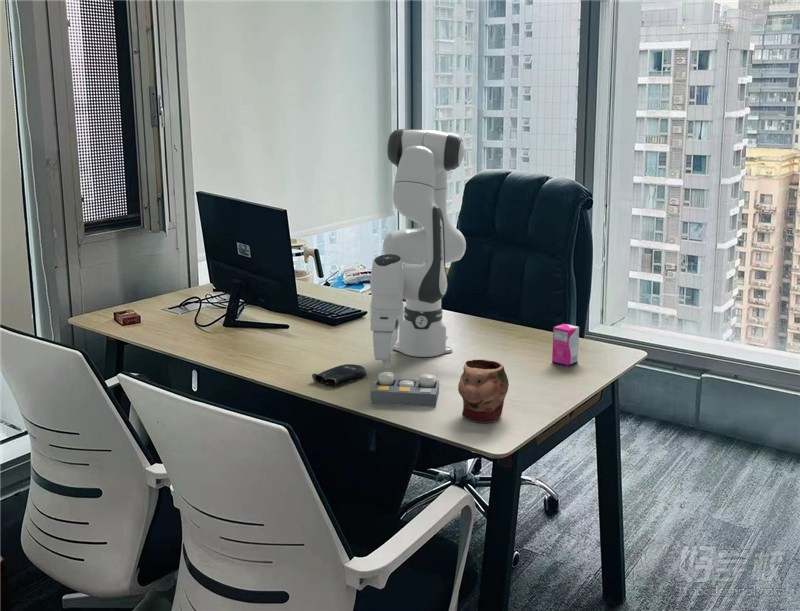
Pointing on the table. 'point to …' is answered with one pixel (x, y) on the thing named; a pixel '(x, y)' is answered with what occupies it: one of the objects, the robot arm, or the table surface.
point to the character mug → (483, 390)
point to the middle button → (406, 383)
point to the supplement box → (565, 344)
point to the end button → (386, 378)
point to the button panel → (405, 394)
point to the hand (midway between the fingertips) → (386, 366)
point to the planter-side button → (427, 381)
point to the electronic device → (341, 374)
